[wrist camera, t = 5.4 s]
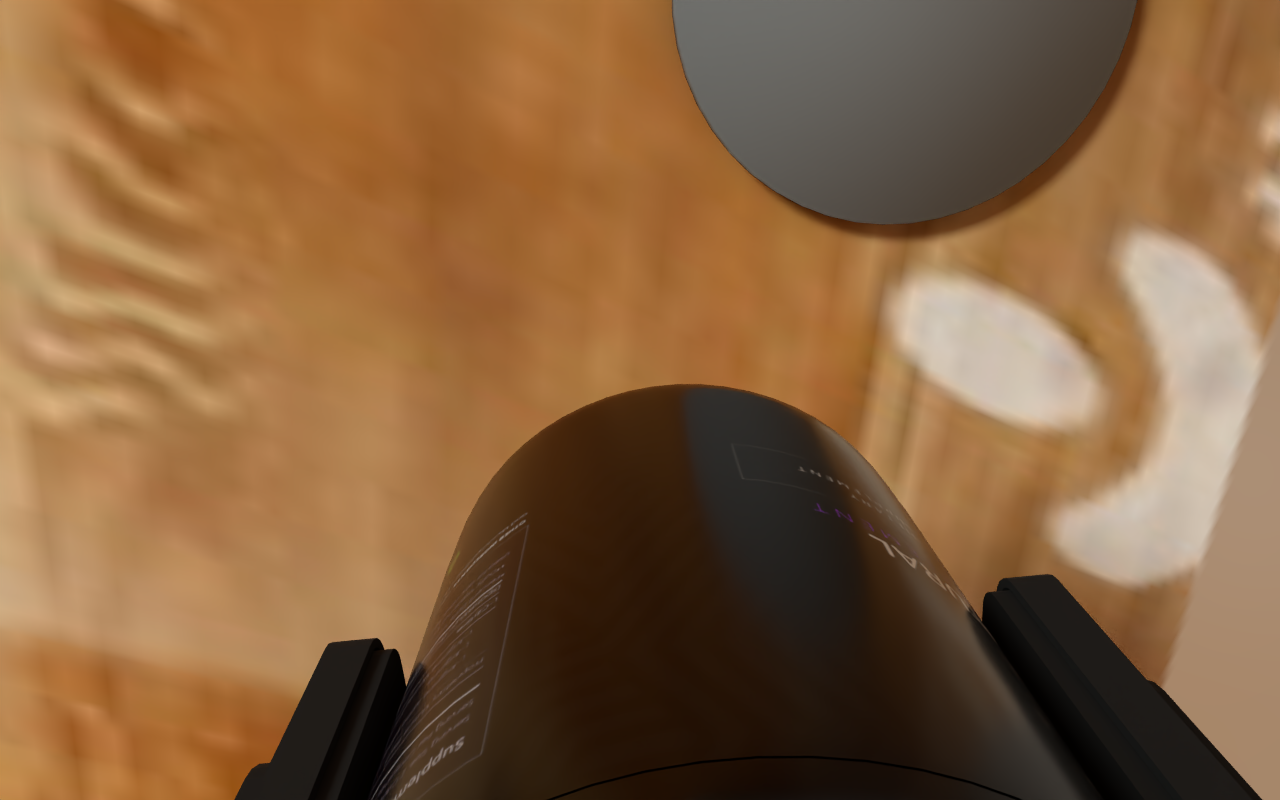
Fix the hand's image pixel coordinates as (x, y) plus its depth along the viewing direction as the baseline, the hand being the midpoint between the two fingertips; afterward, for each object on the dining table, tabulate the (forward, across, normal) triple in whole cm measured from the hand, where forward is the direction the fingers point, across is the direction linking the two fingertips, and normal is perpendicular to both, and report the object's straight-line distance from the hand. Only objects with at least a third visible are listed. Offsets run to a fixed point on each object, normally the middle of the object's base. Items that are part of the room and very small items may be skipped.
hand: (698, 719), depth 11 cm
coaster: (+17, -8, -9) cm, 21 cm away
